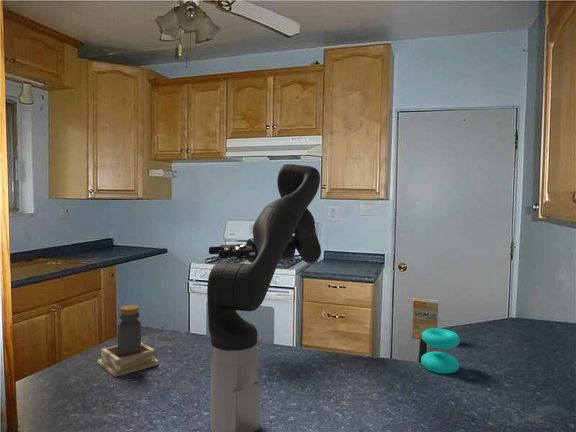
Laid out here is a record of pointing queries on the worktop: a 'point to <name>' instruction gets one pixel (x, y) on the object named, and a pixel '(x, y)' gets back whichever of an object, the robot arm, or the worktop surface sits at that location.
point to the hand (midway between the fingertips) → (214, 252)
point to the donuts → (440, 360)
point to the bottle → (129, 331)
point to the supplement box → (423, 316)
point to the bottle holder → (127, 360)
